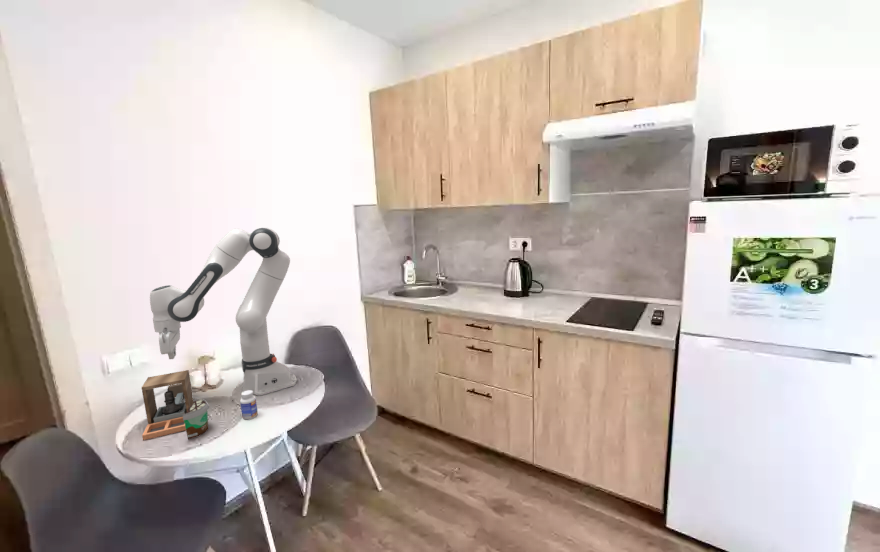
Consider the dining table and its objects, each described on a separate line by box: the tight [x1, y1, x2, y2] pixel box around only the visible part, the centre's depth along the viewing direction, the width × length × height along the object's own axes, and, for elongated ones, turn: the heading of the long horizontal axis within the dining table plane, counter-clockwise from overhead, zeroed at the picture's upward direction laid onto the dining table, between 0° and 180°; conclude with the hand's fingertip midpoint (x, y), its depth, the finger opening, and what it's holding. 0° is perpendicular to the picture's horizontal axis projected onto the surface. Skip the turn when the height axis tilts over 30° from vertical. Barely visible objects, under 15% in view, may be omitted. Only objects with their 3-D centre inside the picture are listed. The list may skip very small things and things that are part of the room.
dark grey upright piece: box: [162, 388, 181, 416], centre depth 147 cm, size 6×6×12 cm
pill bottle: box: [239, 390, 258, 420], centre depth 146 cm, size 5×5×10 cm
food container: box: [183, 398, 210, 440], centre depth 138 cm, size 12×6×10 cm, turn 17°
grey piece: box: [154, 383, 192, 423], centre depth 155 cm, size 10×26×5 cm, turn 26°
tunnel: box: [141, 369, 194, 425], centre depth 147 cm, size 13×10×16 cm
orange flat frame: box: [141, 417, 186, 441], centre depth 140 cm, size 13×8×2 cm, turn 116°
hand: (172, 357), depth 159 cm, fingers closed
